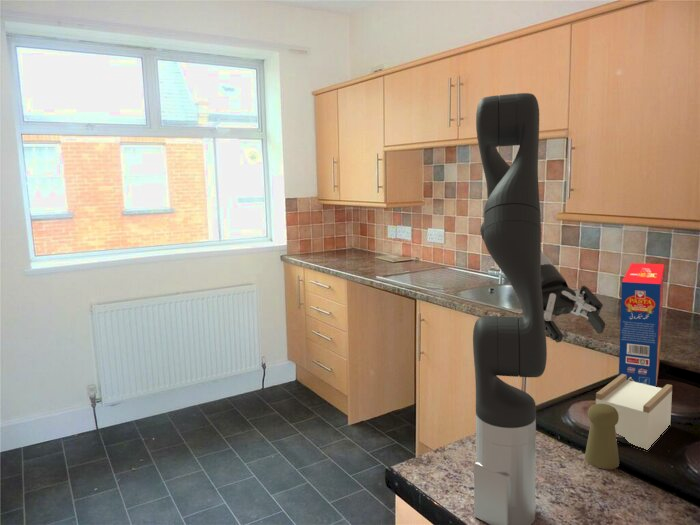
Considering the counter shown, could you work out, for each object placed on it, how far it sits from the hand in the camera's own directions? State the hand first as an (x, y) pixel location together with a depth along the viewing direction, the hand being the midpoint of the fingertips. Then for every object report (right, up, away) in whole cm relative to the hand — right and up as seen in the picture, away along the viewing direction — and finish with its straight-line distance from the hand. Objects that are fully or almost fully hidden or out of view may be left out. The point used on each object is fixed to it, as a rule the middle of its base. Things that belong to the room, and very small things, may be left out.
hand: (581, 335), depth 95 cm
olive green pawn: (+5, -25, +3) cm, 25 cm away
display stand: (+17, -22, +13) cm, 31 cm away
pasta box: (+35, -17, +42) cm, 57 cm away
